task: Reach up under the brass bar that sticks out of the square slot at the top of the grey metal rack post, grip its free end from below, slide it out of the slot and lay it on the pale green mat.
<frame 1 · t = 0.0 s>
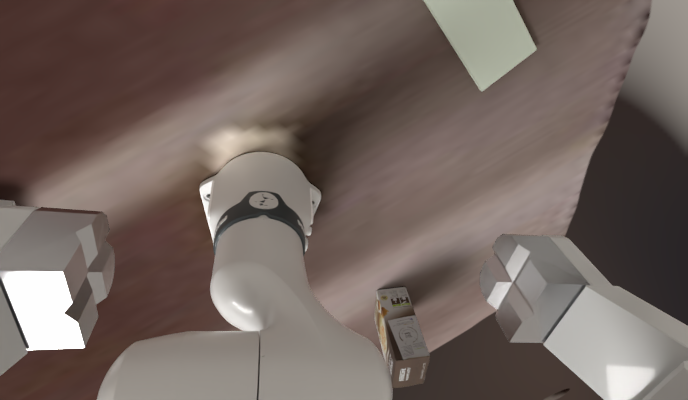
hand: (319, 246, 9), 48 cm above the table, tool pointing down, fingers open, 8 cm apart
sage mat: (470, 6, 52), on the table
coffee box: (389, 301, 85), on the table
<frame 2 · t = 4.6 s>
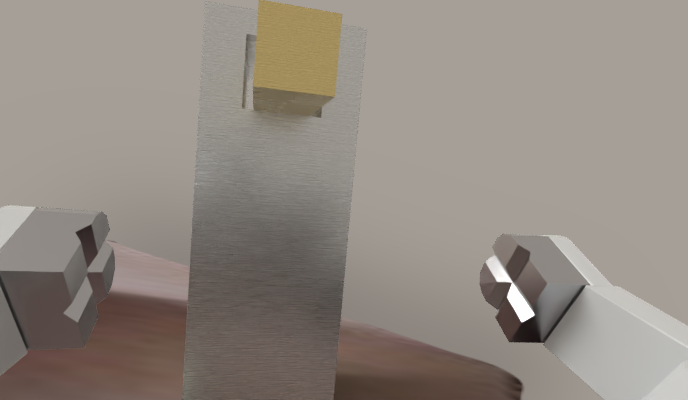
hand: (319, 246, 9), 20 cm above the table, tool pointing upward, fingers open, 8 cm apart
brass bar: (280, 114, 26), point 25 cm above the table, touching rack post
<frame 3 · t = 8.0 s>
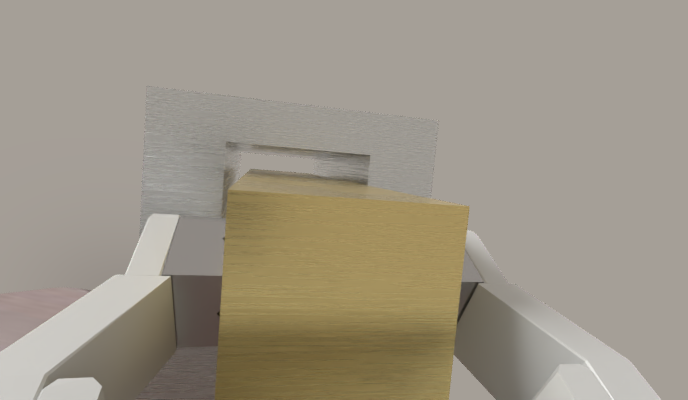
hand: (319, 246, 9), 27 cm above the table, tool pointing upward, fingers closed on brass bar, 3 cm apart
brass bar: (288, 269, 15), point 25 cm above the table, touching gripper, rack post
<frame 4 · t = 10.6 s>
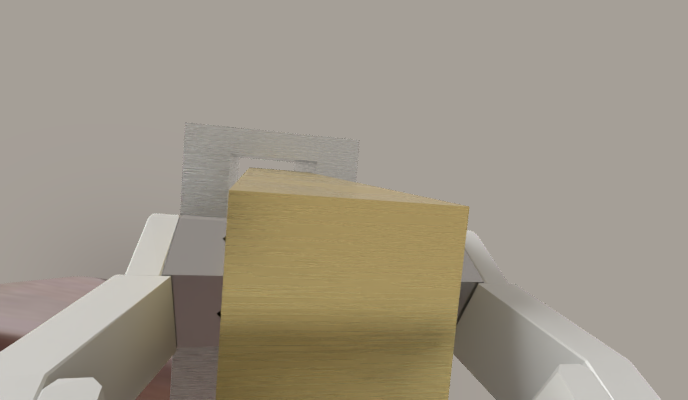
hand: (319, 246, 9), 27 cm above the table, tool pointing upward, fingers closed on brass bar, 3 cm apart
brass bar: (287, 267, 15), point 25 cm above the table, touching gripper
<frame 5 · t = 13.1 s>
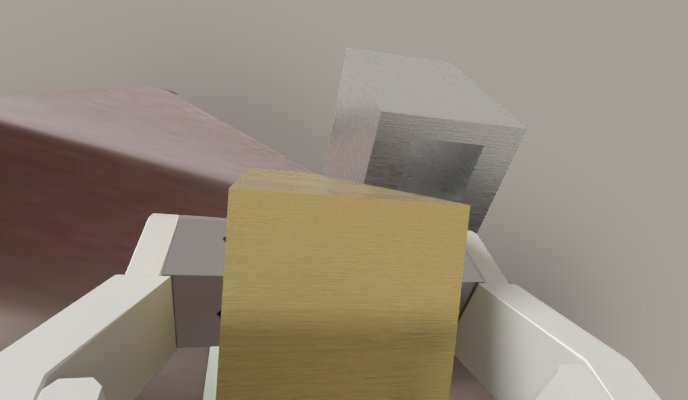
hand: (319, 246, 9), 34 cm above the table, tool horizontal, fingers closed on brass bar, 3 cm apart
rack post: (348, 334, 48), on the table
brass bar: (287, 268, 15), point 29 cm above the table, tilted 30°, touching gripper
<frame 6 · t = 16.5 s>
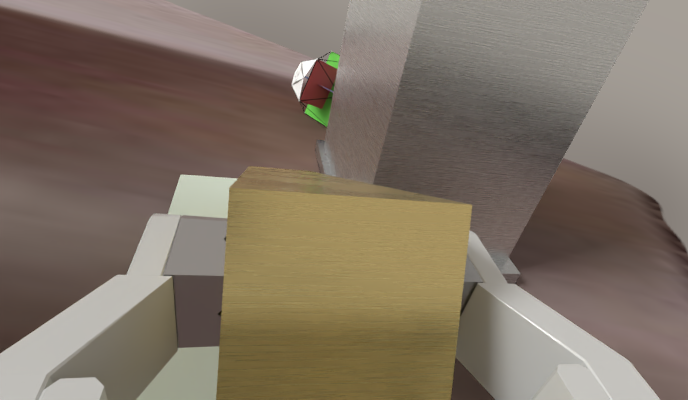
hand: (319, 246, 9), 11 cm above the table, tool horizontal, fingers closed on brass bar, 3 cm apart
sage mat: (241, 311, 20), on the table
geometric puzzle: (325, 121, 42), on the table
rack post: (397, 206, 30), on the table
brass bar: (287, 266, 15), point 5 cm above the table, tilted 29°, touching gripper
when the fingers open (5 cm above the table, at t = 17.8 s): brass bar drops 2 cm, resting on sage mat.
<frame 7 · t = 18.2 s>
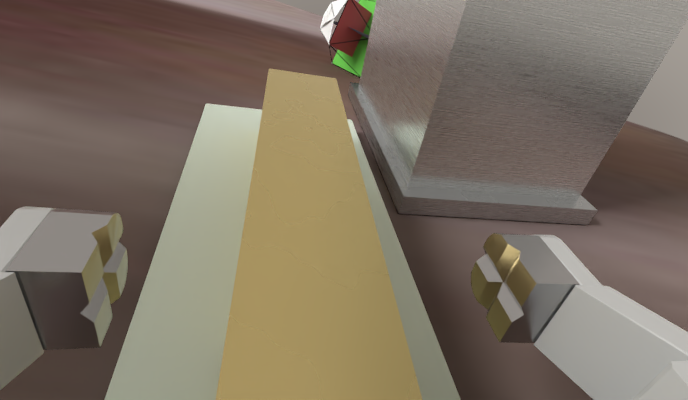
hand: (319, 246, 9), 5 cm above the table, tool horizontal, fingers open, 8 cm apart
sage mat: (285, 235, 17), on the table
geometric puzzle: (354, 72, 39), on the table
rack post: (444, 147, 27), on the table
brass bar: (296, 245, 15), point 1 cm above the table, touching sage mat
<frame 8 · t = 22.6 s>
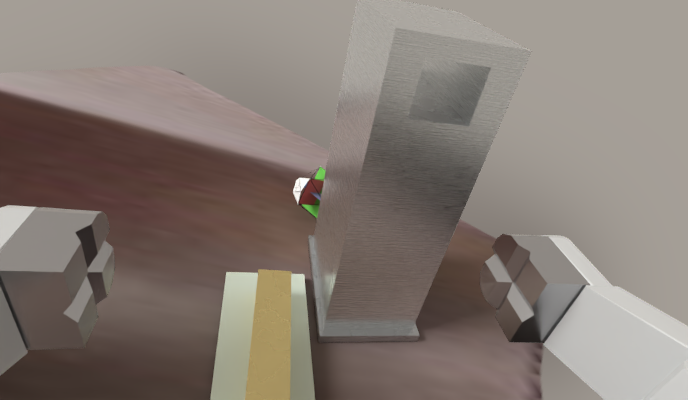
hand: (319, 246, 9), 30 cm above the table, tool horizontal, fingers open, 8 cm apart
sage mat: (264, 361, 39), on the table
geometric puzzle: (316, 211, 61), on the table
rack post: (356, 285, 49), on the table
brass bar: (267, 370, 37), point 1 cm above the table, touching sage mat
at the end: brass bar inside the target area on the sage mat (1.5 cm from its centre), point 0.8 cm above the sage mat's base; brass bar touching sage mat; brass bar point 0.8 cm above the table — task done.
